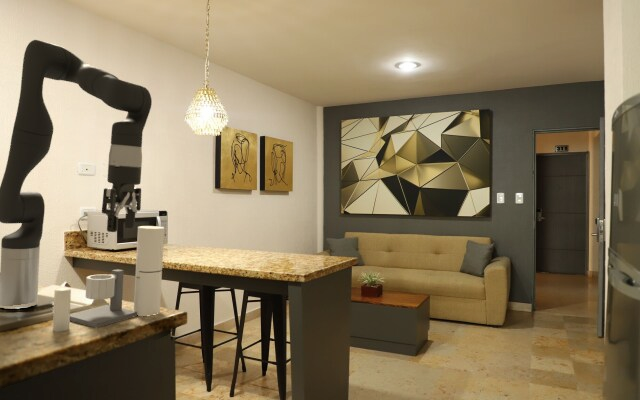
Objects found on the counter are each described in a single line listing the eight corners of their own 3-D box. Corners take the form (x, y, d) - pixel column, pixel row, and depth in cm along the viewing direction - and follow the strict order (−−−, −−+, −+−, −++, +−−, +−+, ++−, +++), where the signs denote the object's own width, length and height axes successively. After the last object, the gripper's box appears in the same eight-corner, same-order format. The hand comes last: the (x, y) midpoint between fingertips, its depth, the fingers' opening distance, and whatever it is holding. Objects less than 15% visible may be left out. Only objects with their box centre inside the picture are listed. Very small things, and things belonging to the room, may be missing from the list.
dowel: (49, 329, 112) (51, 290, 112) (63, 326, 115) (64, 287, 115) (59, 332, 111) (60, 292, 110) (72, 328, 114) (74, 289, 114)
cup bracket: (65, 319, 120) (67, 273, 120) (106, 308, 132) (108, 266, 132) (96, 328, 115) (99, 279, 115) (136, 315, 127) (138, 272, 127)
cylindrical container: (150, 317, 126) (155, 229, 126) (128, 314, 128) (132, 227, 127) (164, 311, 133) (169, 227, 133) (142, 308, 135) (147, 225, 134)
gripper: (125, 164, 118) (121, 225, 119) (94, 162, 104) (89, 231, 105) (152, 166, 118) (148, 228, 118) (125, 164, 103) (121, 234, 104)
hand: (121, 229), depth 111 cm, fingers open, 8 cm apart
